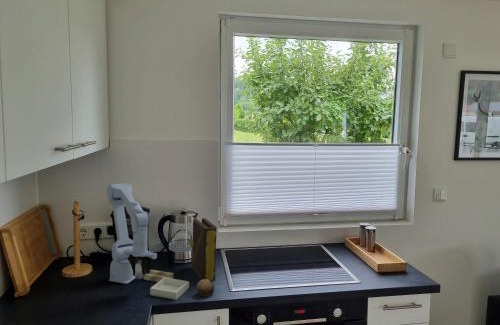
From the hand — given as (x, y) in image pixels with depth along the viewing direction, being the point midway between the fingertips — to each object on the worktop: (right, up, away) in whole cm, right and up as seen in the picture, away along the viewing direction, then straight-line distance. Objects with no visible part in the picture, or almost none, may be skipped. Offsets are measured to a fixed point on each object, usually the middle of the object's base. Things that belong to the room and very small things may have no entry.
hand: (139, 273), depth 158 cm
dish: (+12, -9, +3) cm, 15 cm away
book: (+23, -7, +25) cm, 35 cm away
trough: (+4, -7, +16) cm, 18 cm away
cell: (0, -2, 0) cm, 2 cm away
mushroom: (+27, -10, +2) cm, 29 cm away
